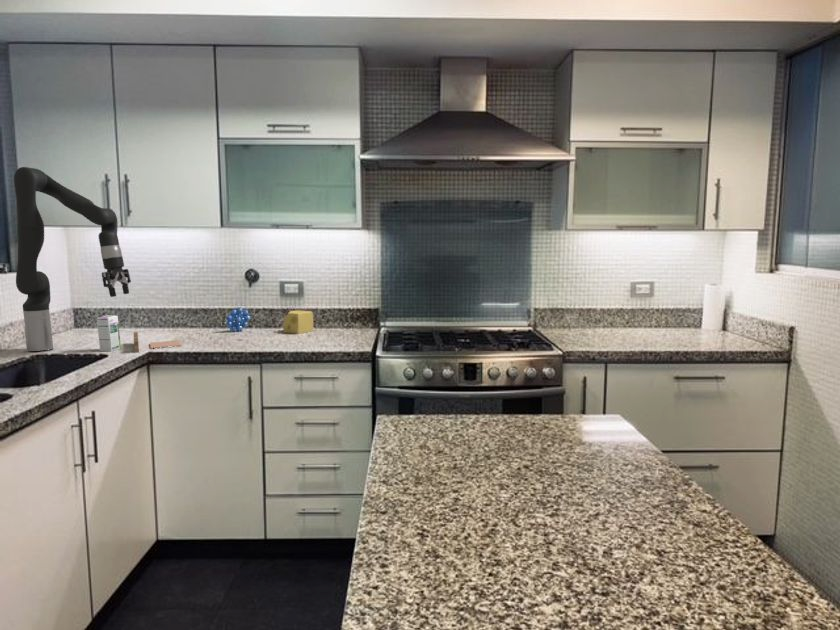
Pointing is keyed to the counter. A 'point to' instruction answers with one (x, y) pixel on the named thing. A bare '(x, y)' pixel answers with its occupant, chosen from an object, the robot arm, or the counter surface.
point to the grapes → (238, 319)
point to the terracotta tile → (165, 344)
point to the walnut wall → (136, 342)
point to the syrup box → (108, 333)
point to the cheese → (298, 322)
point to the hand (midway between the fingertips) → (120, 295)
